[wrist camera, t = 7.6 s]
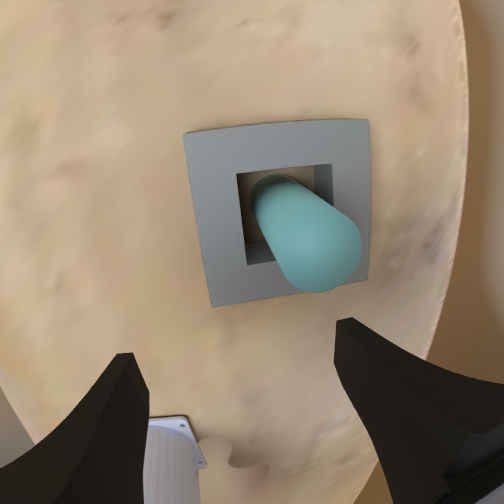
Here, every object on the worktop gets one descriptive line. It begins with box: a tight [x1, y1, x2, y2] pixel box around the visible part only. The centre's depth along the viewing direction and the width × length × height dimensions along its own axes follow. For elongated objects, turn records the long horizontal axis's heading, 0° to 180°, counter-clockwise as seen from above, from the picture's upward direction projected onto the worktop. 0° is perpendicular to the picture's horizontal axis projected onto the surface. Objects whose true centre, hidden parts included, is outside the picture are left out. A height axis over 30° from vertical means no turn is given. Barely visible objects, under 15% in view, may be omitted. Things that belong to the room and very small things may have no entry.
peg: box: [249, 174, 362, 293], centre depth 15 cm, size 3×3×8 cm
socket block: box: [183, 118, 371, 308], centre depth 17 cm, size 9×9×3 cm
